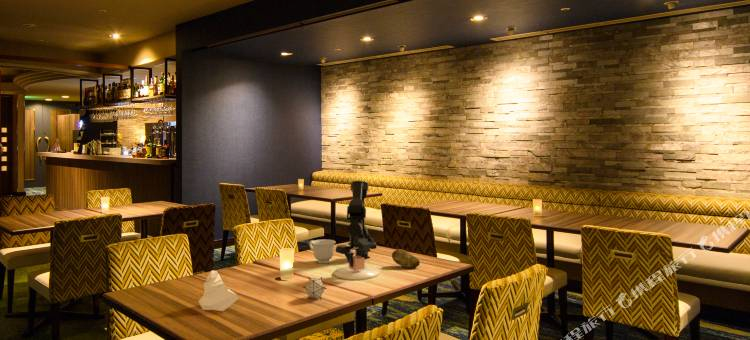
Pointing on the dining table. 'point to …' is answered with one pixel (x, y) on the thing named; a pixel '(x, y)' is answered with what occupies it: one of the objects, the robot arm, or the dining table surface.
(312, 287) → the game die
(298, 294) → the dining table surface
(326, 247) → the teacup
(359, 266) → the block
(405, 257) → the potato
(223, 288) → the cream irregular lump
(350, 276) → the plate
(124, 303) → the dining table surface
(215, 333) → the dining table surface
